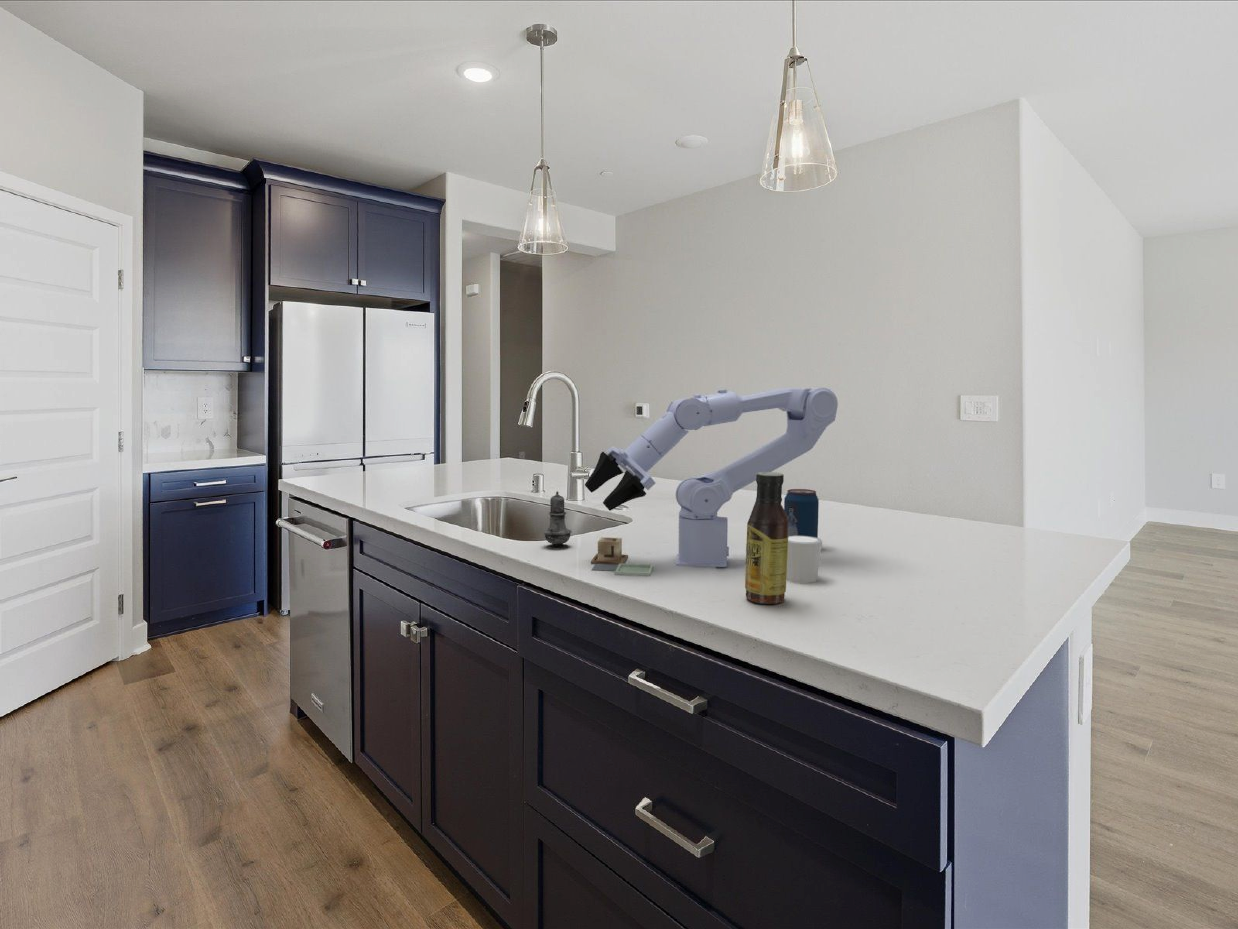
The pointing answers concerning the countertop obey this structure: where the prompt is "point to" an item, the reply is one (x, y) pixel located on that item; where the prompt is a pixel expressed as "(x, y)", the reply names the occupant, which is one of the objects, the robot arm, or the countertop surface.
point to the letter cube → (610, 549)
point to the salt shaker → (557, 524)
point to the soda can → (802, 512)
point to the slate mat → (604, 567)
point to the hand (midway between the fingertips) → (596, 497)
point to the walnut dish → (595, 561)
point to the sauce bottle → (767, 542)
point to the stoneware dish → (634, 569)
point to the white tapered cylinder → (803, 558)
